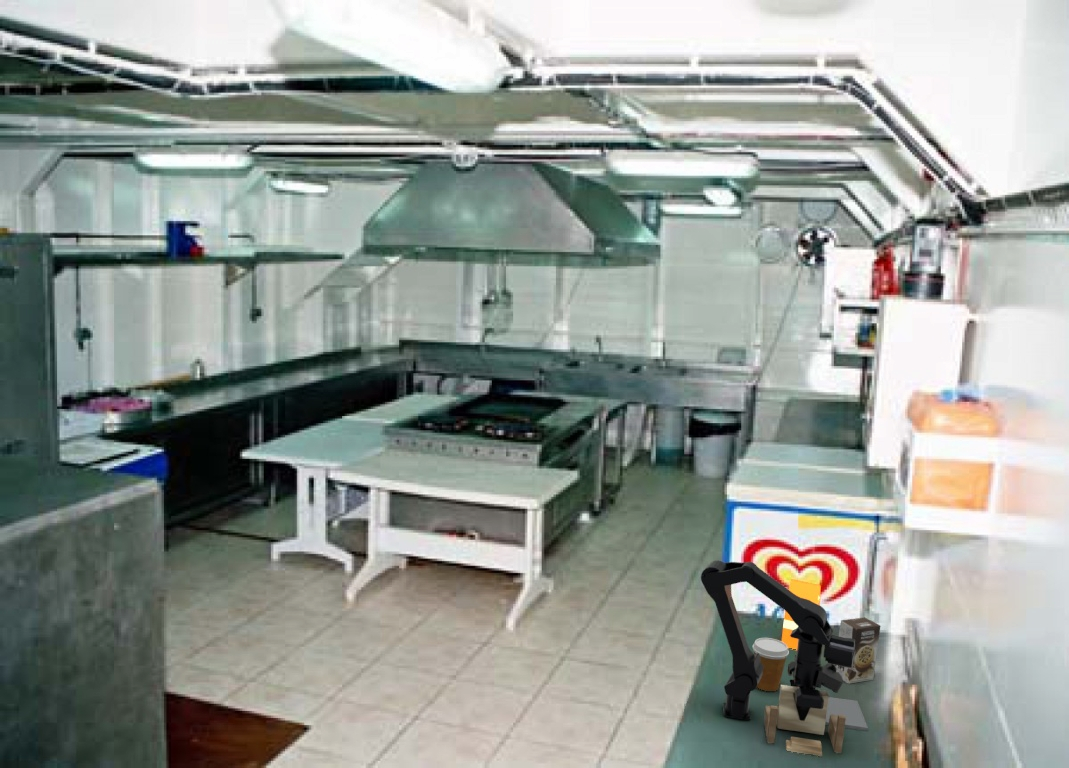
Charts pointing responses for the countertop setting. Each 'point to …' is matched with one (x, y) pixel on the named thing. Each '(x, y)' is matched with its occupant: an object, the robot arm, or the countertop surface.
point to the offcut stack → (804, 746)
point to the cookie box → (860, 649)
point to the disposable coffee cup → (771, 661)
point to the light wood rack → (834, 727)
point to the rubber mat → (846, 713)
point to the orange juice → (803, 591)
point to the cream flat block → (789, 713)
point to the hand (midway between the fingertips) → (801, 716)
